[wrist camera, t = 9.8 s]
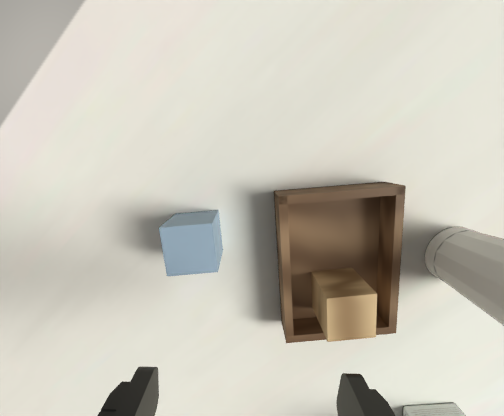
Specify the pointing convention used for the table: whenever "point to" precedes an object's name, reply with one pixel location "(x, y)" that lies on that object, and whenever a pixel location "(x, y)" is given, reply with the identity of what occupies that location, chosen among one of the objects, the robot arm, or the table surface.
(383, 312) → the tray
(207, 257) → the slate block
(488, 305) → the cup
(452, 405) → the supplement box
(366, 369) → the table surface
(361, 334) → the oak block
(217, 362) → the table surface
